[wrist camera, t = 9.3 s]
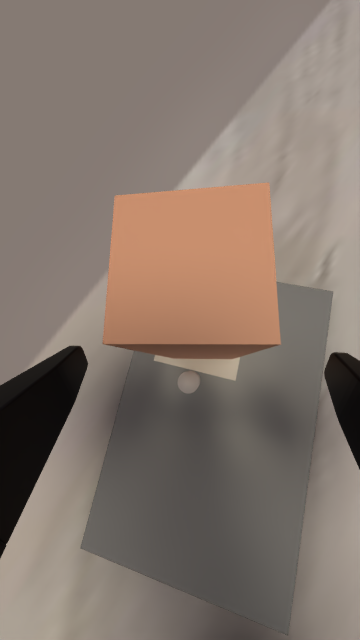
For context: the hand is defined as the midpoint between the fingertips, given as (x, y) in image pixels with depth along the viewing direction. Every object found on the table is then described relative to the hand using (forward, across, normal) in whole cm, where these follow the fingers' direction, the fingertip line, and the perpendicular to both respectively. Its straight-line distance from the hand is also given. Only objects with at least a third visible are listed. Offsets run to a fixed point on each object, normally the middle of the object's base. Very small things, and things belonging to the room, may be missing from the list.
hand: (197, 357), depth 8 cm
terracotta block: (+8, 0, +5) cm, 10 cm away
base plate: (+5, -1, +10) cm, 11 cm away
